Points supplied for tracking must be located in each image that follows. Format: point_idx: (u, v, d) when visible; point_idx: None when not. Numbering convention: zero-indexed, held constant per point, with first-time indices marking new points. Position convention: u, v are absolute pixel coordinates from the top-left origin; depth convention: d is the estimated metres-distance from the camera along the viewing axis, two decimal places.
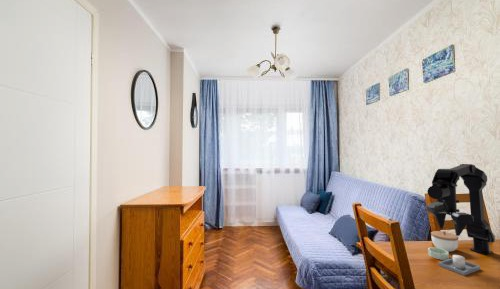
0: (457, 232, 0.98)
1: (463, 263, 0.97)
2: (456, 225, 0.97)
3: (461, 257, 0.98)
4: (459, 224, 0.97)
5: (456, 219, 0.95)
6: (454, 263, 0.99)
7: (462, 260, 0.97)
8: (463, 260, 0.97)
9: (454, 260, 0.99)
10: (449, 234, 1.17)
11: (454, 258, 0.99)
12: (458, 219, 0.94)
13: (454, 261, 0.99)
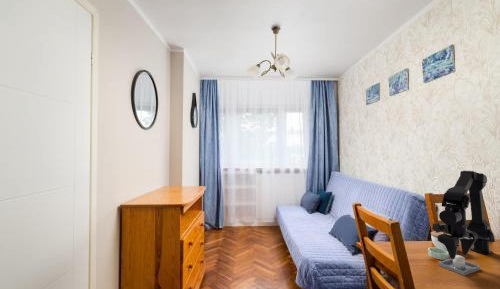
0: (450, 255, 0.97)
1: (463, 263, 0.97)
2: None
3: (461, 257, 0.98)
4: (450, 247, 0.97)
5: None
6: (454, 263, 0.99)
7: (462, 260, 0.97)
8: (463, 260, 0.97)
9: (454, 260, 0.99)
10: (449, 234, 1.17)
11: None
12: (437, 238, 0.98)
13: (454, 261, 0.99)
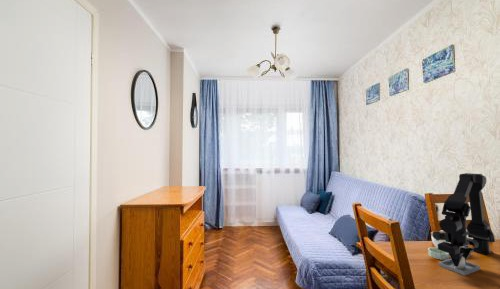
0: (453, 262, 0.98)
1: (463, 263, 0.97)
2: None
3: None
4: (453, 254, 0.98)
5: None
6: None
7: (462, 260, 0.97)
8: (463, 260, 0.97)
9: None
10: None
11: None
12: None
13: None
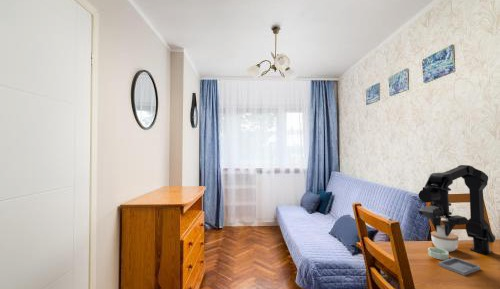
0: (447, 232, 1.04)
1: None
2: (447, 226, 1.04)
3: (442, 226, 1.08)
4: (449, 225, 1.04)
5: (454, 223, 0.99)
6: (445, 234, 1.05)
7: None
8: None
9: (444, 231, 1.05)
10: (449, 234, 1.17)
11: (444, 229, 1.05)
12: (456, 222, 0.98)
13: None
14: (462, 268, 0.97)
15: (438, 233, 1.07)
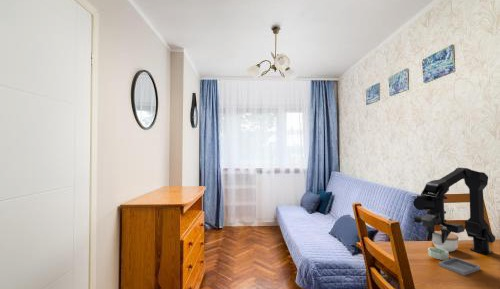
0: (443, 240, 1.07)
1: None
2: (444, 234, 1.06)
3: (437, 233, 1.10)
4: None
5: (454, 231, 1.01)
6: (441, 241, 1.08)
7: None
8: None
9: (441, 238, 1.08)
10: (449, 234, 1.17)
11: (441, 236, 1.08)
12: (456, 231, 1.00)
13: (441, 239, 1.08)
14: (462, 268, 0.97)
15: (434, 241, 1.09)
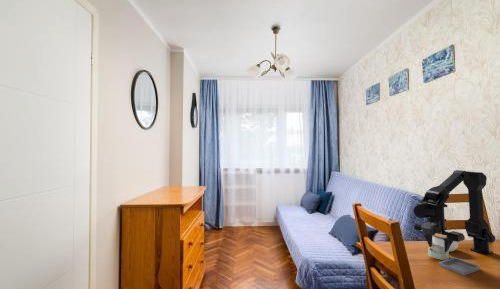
0: (446, 249, 1.06)
1: None
2: (447, 243, 1.05)
3: (438, 245, 1.10)
4: None
5: (454, 239, 1.01)
6: (441, 253, 1.07)
7: None
8: None
9: (441, 251, 1.08)
10: None
11: (441, 249, 1.08)
12: (456, 239, 1.00)
13: (441, 252, 1.08)
14: (462, 268, 0.97)
15: None
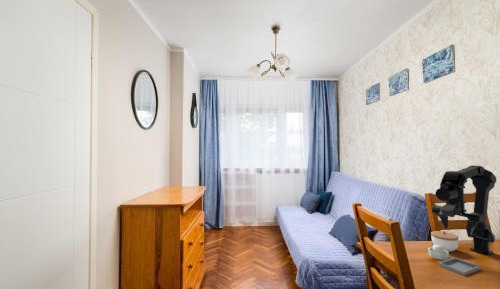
0: (470, 232, 1.03)
1: None
2: (471, 225, 1.02)
3: (438, 245, 1.10)
4: None
5: (475, 220, 0.99)
6: None
7: None
8: None
9: (441, 251, 1.08)
10: (449, 234, 1.17)
11: (441, 249, 1.08)
12: (477, 220, 0.98)
13: (441, 252, 1.08)
14: (462, 268, 0.97)
15: None
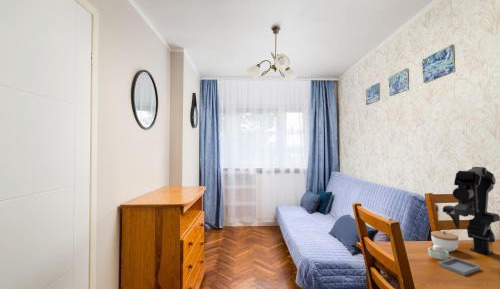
0: (484, 232, 1.01)
1: None
2: (484, 225, 1.00)
3: (438, 245, 1.10)
4: None
5: (489, 220, 0.98)
6: None
7: None
8: None
9: (441, 251, 1.08)
10: (449, 234, 1.17)
11: (441, 249, 1.08)
12: (492, 220, 0.97)
13: (441, 252, 1.08)
14: (462, 268, 0.97)
15: None
